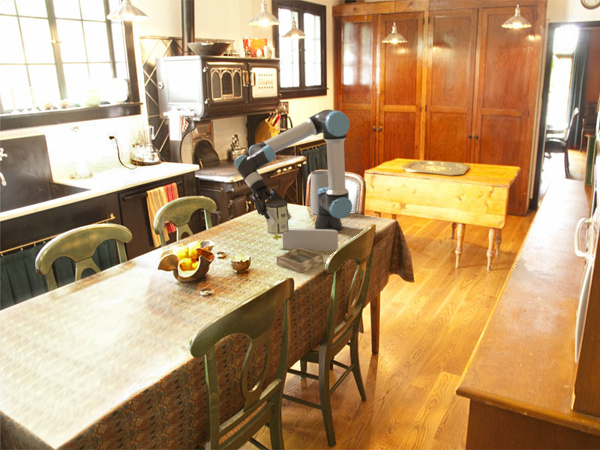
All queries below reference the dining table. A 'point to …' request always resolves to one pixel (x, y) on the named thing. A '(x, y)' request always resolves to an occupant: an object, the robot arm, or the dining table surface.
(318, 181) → the cylinder vase
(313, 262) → the square tray
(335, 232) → the decorative sign
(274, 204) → the coffee can
